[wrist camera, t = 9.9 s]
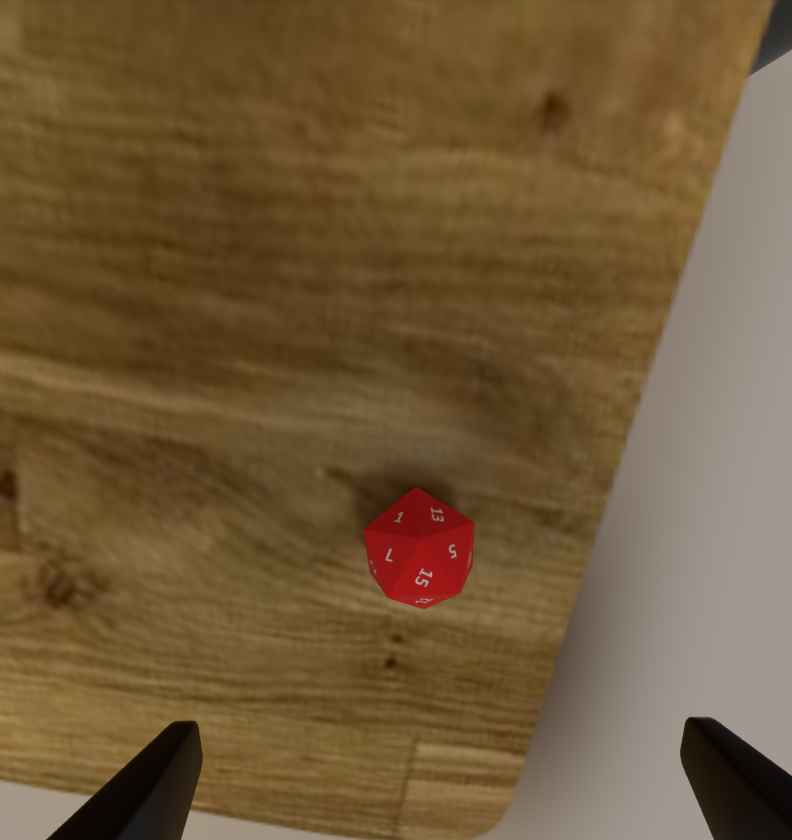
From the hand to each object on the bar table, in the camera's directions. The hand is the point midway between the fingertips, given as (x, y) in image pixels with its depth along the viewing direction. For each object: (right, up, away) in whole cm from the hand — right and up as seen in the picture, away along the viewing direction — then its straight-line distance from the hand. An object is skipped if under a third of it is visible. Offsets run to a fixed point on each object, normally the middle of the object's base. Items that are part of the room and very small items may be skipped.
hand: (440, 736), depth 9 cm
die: (0, +2, +8) cm, 9 cm away
